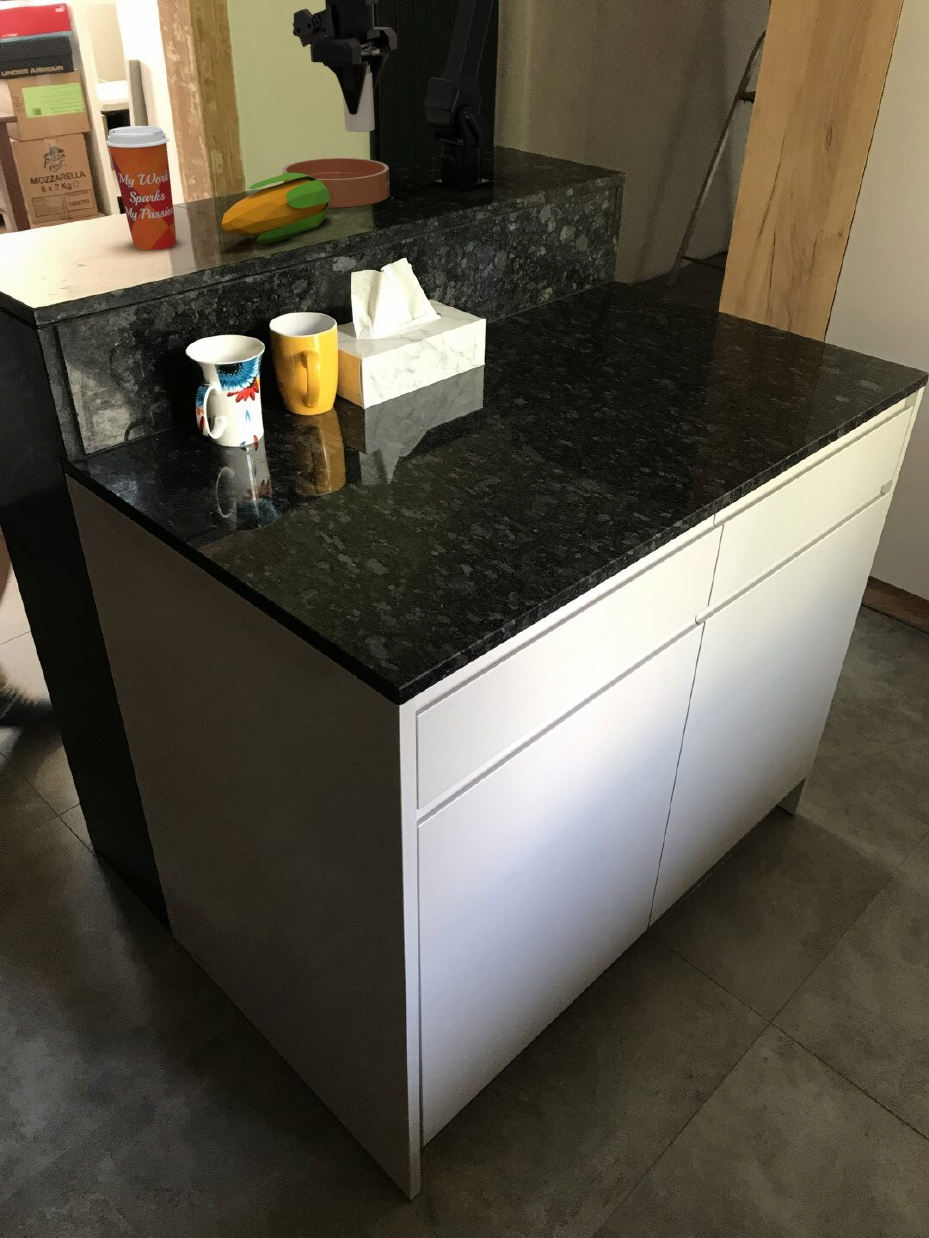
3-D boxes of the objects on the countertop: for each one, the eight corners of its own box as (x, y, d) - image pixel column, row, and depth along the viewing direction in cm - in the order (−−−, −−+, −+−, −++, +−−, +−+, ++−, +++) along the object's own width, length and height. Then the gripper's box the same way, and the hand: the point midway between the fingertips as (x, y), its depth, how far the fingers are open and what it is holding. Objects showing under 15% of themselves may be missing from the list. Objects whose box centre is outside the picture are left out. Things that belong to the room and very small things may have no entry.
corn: (340, 166, 138) (240, 193, 124) (347, 224, 142) (251, 256, 129) (300, 164, 142) (198, 190, 128) (308, 220, 146) (210, 252, 132)
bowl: (342, 183, 165) (340, 153, 162) (411, 199, 156) (410, 168, 153) (264, 200, 155) (260, 169, 152) (332, 217, 146) (329, 185, 143)
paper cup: (126, 254, 130) (103, 137, 122) (125, 239, 136) (103, 126, 128) (187, 249, 132) (169, 134, 124) (183, 235, 138) (166, 123, 130)
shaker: (361, 125, 151) (357, 62, 146) (380, 129, 149) (377, 64, 144) (339, 129, 149) (334, 65, 144) (358, 133, 146) (354, 67, 141)
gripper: (325, -18, 147) (333, 100, 156) (269, -9, 133) (282, 120, 142) (395, -17, 145) (400, 103, 154) (346, -8, 130) (355, 123, 139)
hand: (359, 111), depth 147 cm, fingers closed on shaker, 4 cm apart
